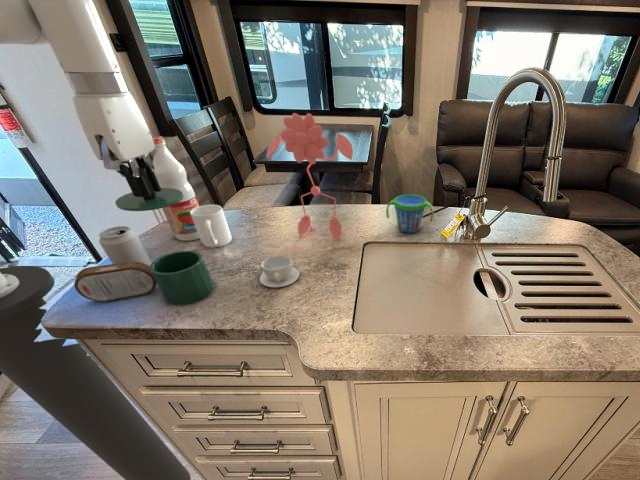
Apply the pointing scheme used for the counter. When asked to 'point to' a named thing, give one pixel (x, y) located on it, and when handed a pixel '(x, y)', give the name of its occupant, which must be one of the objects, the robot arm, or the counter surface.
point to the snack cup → (409, 212)
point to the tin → (115, 281)
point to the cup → (211, 225)
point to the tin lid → (149, 203)
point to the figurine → (310, 156)
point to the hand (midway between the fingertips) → (148, 192)
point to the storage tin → (182, 277)
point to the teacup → (278, 271)
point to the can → (123, 245)
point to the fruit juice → (176, 178)
